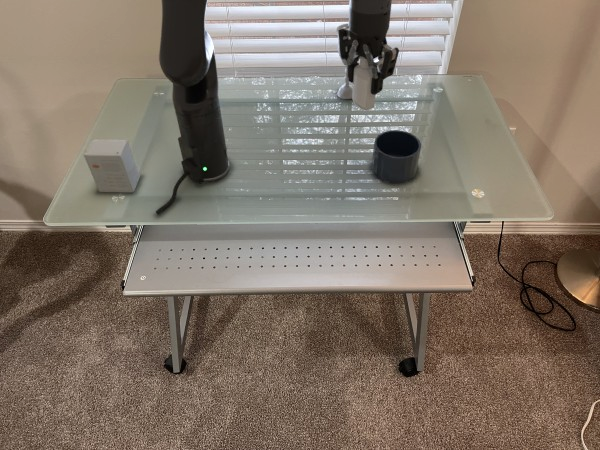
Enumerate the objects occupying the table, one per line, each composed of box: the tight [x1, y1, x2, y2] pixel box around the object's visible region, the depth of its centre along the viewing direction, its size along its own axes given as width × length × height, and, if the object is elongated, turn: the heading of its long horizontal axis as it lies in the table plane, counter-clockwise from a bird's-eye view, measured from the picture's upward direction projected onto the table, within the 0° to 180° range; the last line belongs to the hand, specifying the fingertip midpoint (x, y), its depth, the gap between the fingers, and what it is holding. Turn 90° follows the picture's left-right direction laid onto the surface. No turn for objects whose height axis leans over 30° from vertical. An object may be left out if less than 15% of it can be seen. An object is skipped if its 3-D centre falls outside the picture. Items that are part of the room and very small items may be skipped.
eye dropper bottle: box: [351, 56, 376, 111], centre depth 101 cm, size 4×6×12 cm
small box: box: [83, 139, 141, 193], centre depth 109 cm, size 8×6×10 cm
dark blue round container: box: [371, 129, 422, 184], centre depth 113 cm, size 10×10×7 cm
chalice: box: [335, 23, 353, 100], centre depth 131 cm, size 7×7×18 cm
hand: (364, 86), depth 103 cm, fingers closed on eye dropper bottle, 5 cm apart
